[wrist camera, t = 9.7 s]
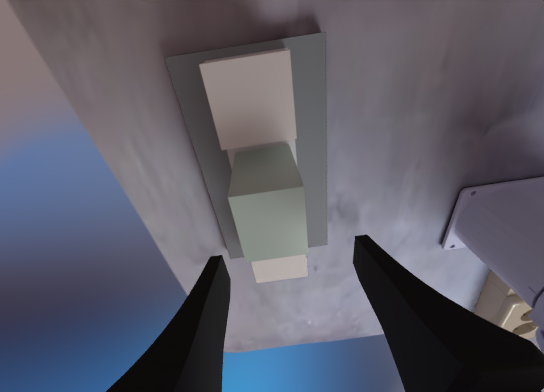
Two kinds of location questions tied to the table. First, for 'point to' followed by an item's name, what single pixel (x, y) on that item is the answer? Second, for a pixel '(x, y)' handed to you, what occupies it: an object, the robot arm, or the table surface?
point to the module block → (268, 204)
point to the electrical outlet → (505, 308)
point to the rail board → (304, 129)
